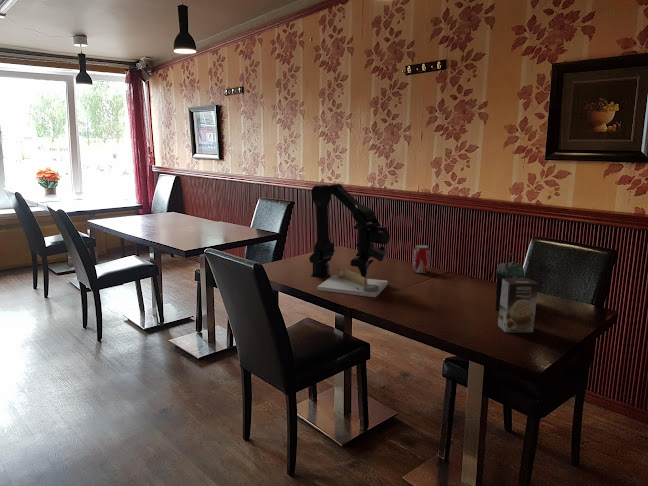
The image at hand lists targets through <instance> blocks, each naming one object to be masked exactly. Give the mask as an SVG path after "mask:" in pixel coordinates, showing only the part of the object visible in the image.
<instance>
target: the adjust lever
mask: <svg viewBox="0 0 648 486" xmlns="http://www.w3.org/2000/svg"><path fill="white" fill-rule="evenodd" d="M337 269H338V271H337V272H338V273H337V274H338V277H339V278H345V279H348V280H350V281H353V282H355V283H358V284H361V285H363V286H365V285H367V279H368V276H364V275H361V273H358V272H355V271H352V270H350V269H348V268H347V267H339V268H337Z"/></svg>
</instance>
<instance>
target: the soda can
mask: <svg viewBox="0 0 648 486" xmlns="http://www.w3.org/2000/svg"><path fill="white" fill-rule="evenodd" d="M414 246H415V247H414V249H413V258H412V261H413V262H412V269H413V272H414V273H416V274H420V273H423V274H427V273H428V272H429V270H430V257H431V255H430V251H431V250H430V248H429V245H425V244H417V245H414Z"/></svg>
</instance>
